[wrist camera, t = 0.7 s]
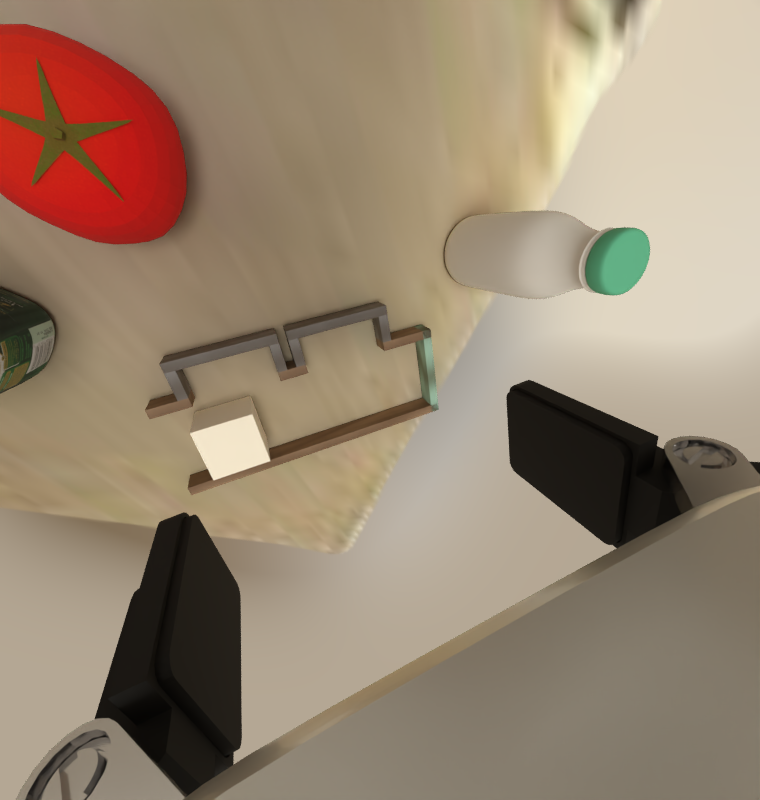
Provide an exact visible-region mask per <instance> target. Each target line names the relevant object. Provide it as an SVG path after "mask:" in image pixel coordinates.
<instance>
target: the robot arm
mask: <svg viewBox="0 0 760 800" xmlns="http://www.w3.org/2000/svg"><path fill="white" fill-rule="evenodd" d="M507 416H508V434H509V454H510V464H511V467H512V468H513V470H514V471H515V472H516V473H517V474H518V475H519V476H521V477H522V478H523V479H525V480H526V481H527V482H528V483H530V484H531V485H532V486H533V487H535V488H536V489H537V490H539V491H540V492H541V493H542V494H543V495H545V496H546V497H547V498H548V499H550V500H551V501H552V502H553V503H555V504H556V505H557V506H558V507H560V508H561V509H562V510H563V511H565V512H566V513H567V514H569V515H570V516H571V517H572V518H574V519H575V520H576V521H577V522H579V523H580V524H581V525H582V526H584V527H585V528H586V529H588V530H589V531H590V532H591V533H592V534H594V535H595V536H596V537H597V538H599V539H600V540H601V541H603V542H604V543H606V544H608V545H613V546H615V547H616V548H617V549H615V550H613V551H611V552H610V553H608V554H606V555H604V556H602V557H601V558H599V559H597V560H595V561H593V562H591V563H590V564H588V565H586V566H584V567H582V568H580V569H578V570H577V571H575V572H573V573H571V574H569V575H567V576H566V577H564V578H562V579H560V580H558V581H556V582H555V583H553V584H551V585H549V586H547V587H546V588H544V589H542V590H540V591H538V592H537V593H535V594H533V595H531V596H529V597H528V598H526V599H524V600H522V601H520V602H519V603H517V604H515V605H513V606H511V607H509V608H508V609H506V610H504V611H502V612H500V613H498V614H497V615H495V616H493V617H491V618H490V619H488V620H486V621H484V622H482V623H480V624H479V625H477V626H475V627H473V628H472V629H470V630H468V631H466V632H464V633H462V634H461V635H459V636H457V637H455V638H454V639H452V640H450V641H448V642H446V643H444V644H443V645H441V646H439V647H437V648H436V649H434V650H432V651H430V652H428V653H427V654H425V655H423V656H421V657H419V658H418V659H416V660H414V661H412V662H410V663H409V664H407V665H405V666H403V667H402V668H400V669H398V670H396V671H395V672H393V673H391V674H389V675H387V676H386V677H384V678H382V679H380V680H379V681H377V682H375V683H373V684H371V685H369V686H368V687H366V688H364V689H362V690H361V691H359V692H357V693H355V694H354V695H352V696H350V697H348V698H346V699H345V700H343V701H341V702H339V703H338V704H336V705H334V706H332V707H330V708H329V709H327V710H325V711H323V712H322V713H320V714H318V715H317V716H315V717H313V718H311V719H310V720H308V721H306V722H305V723H303V724H301V725H299V726H298V727H296V728H294V729H293V730H291V731H289V732H287V733H286V734H284V735H282V736H281V737H279V738H277V739H276V740H274V741H272V742H271V743H269V744H267V745H265V746H263V747H262V748H260V749H258V750H257V751H255V752H253V753H251V754H250V755H248V756H247V757H245V758H244V759H242V760H240V761H239V762H237V763H236V764H234V765H233V752H234V751H236V750H238V749H239V748H240V746H241V738H242V729H241V728H242V724H241V614H240V613H241V611H240V609H241V608H240V607H241V606H240V591H239V587H238V584H237V582H236V581H235V579H234V577H233V575H232V574H231V572H230V570H229V569H228V567H227V565H226V564H225V562H224V560H223V558H222V557H221V555H220V554H219V552H218V550H217V548H216V547H215V545H214V543H213V541H212V540H211V538H210V536H209V535H208V533H207V531H206V530H205V528H204V526H203V524H202V523H201V521H200V519H199V518H198V516H196V515H192V516H189V515H188V514H187V513H181V514H179V515H176V516H173V517H171V518H168V519H166V520H163V521H161V522H159V524H158V527H157V530H156V534H155V537H154V541H153V544H152V548H151V551H150V554H149V558H148V561H147V565H146V568H145V572H144V575H143V579H142V582H141V585H140V588H139V589H138V590H137V591H135V592H134V594H133V597H132V599H131V602H130V605H129V608H128V612H127V615H126V618H125V622H124V625H123V628H122V632H121V634H120V638H119V641H118V644H117V648H116V651H115V654H114V657H113V661H112V664H111V667H110V671H109V674H108V677H107V680H106V684H105V687H104V690H103V693H102V697H101V700H100V703H99V707H98V710H97V713H96V716H95V720H92V721H90V722H87V723H85V724H83V725H81V726H80V727H78V728H77V729H75V730H74V731H72V732H71V733H69V734H68V735H66V736H65V737H64V738H63V739H62V740H61V741H60V742H59V743H57V745H55V746H54V747H53V748H52V749H51V750H50V751H49V752H48V753H47V755H46V756H45V757H44V758H43V759H42V760H41V761H40V763H39V764H38V765H37V766H36V767H35V769H34V770H33V771H32V773H31V775H30V776H29V778H28V779H27V781H26V782H25V784H24V785H23V787H22V789H21V790H20V792H19V794H18V796H17V799H16V800H760V462H749V461H748V460H747V458H746V457H745V456H744V455H743V454H742V453H741V452H740V451H739V450H738V449H736V448H734V447H732V446H731V445H729V444H727V443H724V442H721V441H718V440H715V439H711V438H705V437H698V436H685V437H678V438H673V439H671V440H669V441H668V442H666V444H665V446H664V449H662V448H660V447H658V446H657V440H658V436H656V435H654V434H652V433H650V432H647V431H645V430H643V429H640V428H638V427H636V426H634V425H631V424H629V423H627V422H625V421H622V420H620V419H618V418H615V417H613V416H611V415H609V414H606V413H604V412H602V411H600V410H597V409H595V408H593V407H591V406H588V405H586V404H584V403H581V402H579V401H577V400H574V399H572V398H570V397H568V396H565V395H563V394H561V393H558V392H556V391H554V390H552V389H550V388H547V387H545V386H543V385H540V384H538V383H536V382H534V381H531V380H528V381H524V382H522V383H520V384H517V385H514V386H512V387H511V388H510V392H509V393H508V394H507Z"/></svg>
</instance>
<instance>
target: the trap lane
mask: <svg viewBox="0 0 760 800" xmlns="http://www.w3.org/2000/svg"><path fill="white" fill-rule="evenodd" d="M368 319H373V325H374V330H375V336H376V341H377V345H378V346H379V347H380V348H381V349H383V350H384V351H386V350H389V349H393V348H396V347H400V346H403V345H406V344H410V343H413V342H416V350H417V358H418V366H419V374H420V382H421V390H422V398H420V399H417V400H414V401H411V402H408V403H405V404H402V405H399V406H396V407H393V408H390V409H387V410H384V411H381V412H378V413H375V414H372V415H369V416H366V417H363V418H360V419H357V420H354V421H351V422H348V423H345V424H342V425H339V426H336V427H333V428H330V429H327V430H324V431H321V432H318V433H315V434H313V435H310V436H307V437H304V438H301V439H298V440H295V441H292V442H289V443H286V444H283V445H280V446H277V447H274V448H271V449H269V454H270V461H269V462H266V463H263V464H260V465H257V466H254V467H252V468H249V469H246V470H243V471H240V472H237V473H234V474H231V475H228V476H225V477H222V478H219V479H216V480H213V478H212V476H211V474H210V472H209V470H205V471H202V472H199V473H196V474H193V475H190V479H189V485H188V490H189V491H190V493H191V495H193V494H196V493H199V492H202V491H205V490H208V489H211V488H213V487H216V486H219V485H222V484H225V483H228V482H231V481H234V480H237V479H239V478H242V477H245V476H248V475H251V474H254V473H257V472H260V471H263V470H265V469H268V468H271V467H274V466H277V465H280V464H283V463H286V462H289V461H291V460H294V459H297V458H300V457H303V456H306V455H309V454H312V453H315V452H317V451H320V450H323V449H326V448H329V447H332V446H335V445H338V444H341V443H343V442H346V441H349V440H352V439H355V438H358V437H361V436H364V435H367V434H369V433H372V432H375V431H378V430H381V429H384V428H387V427H390V426H393V425H395V424H398V423H401V422H404V421H407V420H410V419H413V418H416V417H419V416H421V415H424V414H427V413H430V412H433V411H436V410H438V399H437V389H436V379H435V369H434V360H433V350H432V340H431V330H430V329H429V328H427V327H425V326H423V325H418V326H414V327H411V328H407V329H403V330H400V331H396V332H393V333H390V329H389V323H388V317H387V310H386V305H384V304H382V303H379V302H375V303H371V304H367V305H363V306H359V307H356V308H352V309H348V310H344V311H340V312H336V313H332V314H328V315H324V316H320V317H316V318H312V319H308V320H305V321H301V322H297V323H293V324H289V325H285V326H283V327H284V331H285V334H286V337H287V341H288V344H289V347H290V351H291V354H292V357H293V361H289V362H285V361H284V358H283V354H282V351H281V348H280V345H279V342H278V338H277V335H276V332H275V330H274V328H273V329H269V330H265V331H261V332H258V333H254V334H250V335H246V336H242V337H238V338H234V339H230V340H226V341H222V342H218V343H214V344H210V345H207V346H203V347H199V348H195V349H191V350H187V351H183V352H179V353H175V354H171V355H167V356H164V357H163V359H162V361H161V362H160V366H161V368H162V370H163V372H164V375H165V377H166V379H167V381H168V383H169V385H170V387H171V389H172V391H173V393H174V394H171V395H167V396H164V397H160V398H157V399H153V400H150V402H149V404H148V406H147V407H146V409H145V412H146V413H147V415H148V417H149V419H152V418H156V417H159V416H163V415H166V414H169V413H173V412H176V411H180V410H183V409H187V408H190V407H192V406H193V403H194V399H195V396H194V394H193V392H192V390H191V388H190V386H189V384H188V381H187V379H186V377H185V375H184V373H183V371H182V369H184V368H188V367H191V366H195V365H199V364H203V363H207V362H210V361H214V360H218V359H222V358H225V357H229V356H233V355H237V354H240V353H244V352H248V351H252V350H255V349H259V348H263V347H267V346H269V347H270V350H271V353H272V356H273V359H274V362H275V365H276V368H277V371H278V374H279V377H280V380H281V381H283V380H286V379H290V378H293V377H297V376H300V375H303V374H307V373H308V371H307V367H306V364H305V360H304V357H303V353H302V350H301V346H300V343H299V339H298V338H301V337H304V336H308V335H312V334H316V333H319V332H323V331H327V330H331V329H334V328H338V327H342V326H346V325H350V324H353V323H357V322H361V321H365V320H368Z"/></svg>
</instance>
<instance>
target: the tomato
mask: <svg viewBox="0 0 760 800" xmlns="http://www.w3.org/2000/svg"><path fill="white" fill-rule="evenodd" d="M186 181H187V172H186V165H185V158H184V152H183V148H182V145H181V141H180V137H179V133H178V130H177V127H176V125H175V123H174V121H173V119H172V117H171V115H170V113H169V111H168V109H167V107H166V106H165V105H164V104H163V102H162V101H161V100H160V99H159V97H158V96H157V95H156V94H155V92H154V91H153V90H152V89H151V88H150V87H148V86H147V85H146V84H145V83H144V82H142V81H141V80H140V79H139V78H138V77H137V76H135V75H134V74H133V73H131V72H130V71H128V70H127V69H125V68H123V67H122V66H120V65H119V64H117V63H116V62H114V61H113V60H111V59H109V58H108V57H106V56H105V55H103V54H101V53H99V52H97V51H95V50H93V49H91V48H89V47H87V46H85V45H84V44H82V43H80V42H77V41H75V40H72V39H70V38H68V37H65V36H63V35H60V34H58V33H55V32H53V31H49V30H45V29H42V28H38V27H34V26H31V25H27V24H1V25H0V193H1V194H2V195H3V196H5V197H6V198H7V199H8V200H10V201H11V202H13V203H14V204H16V205H17V206H19V207H20V208H22V209H23V210H25V211H26V212H28V213H30V214H32V215H34V216H36V217H38V218H40V219H41V220H43V221H45V222H47V223H49V224H52V225H54V226H56V227H59V228H61V229H63V230H65V231H68V232H70V233H72V234H74V235H77V236H80V237H83V238H86V239H89V240H92V241H95V242H101V243H109V244H134V243H141V242H148V241H151V240H154V239H156V238H159V237H162V236H164V235H165V234H166V233H167V232H168V231H169V230H170V229H171V228H172V227H173V226H174V224H175V222H176V220H177V218H178V216H179V214H180V213H181V211H182V207H183V203H184V200H185V196H186Z"/></svg>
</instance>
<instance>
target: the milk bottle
mask: <svg viewBox="0 0 760 800" xmlns="http://www.w3.org/2000/svg"><path fill="white" fill-rule="evenodd" d="M649 255H650V246H649V240H648V237H647V235H646V234H645V233H644V232H643V231H642V230H639V229H637V228H607V229H604V230H601V231H597V230H595V229H592V228H590V227H588V226H587V225H585V224H584V223H583V222H581V221H580V220H578V219H576V218H575V217H573V216H571V215H568V214H566V213H562V212H557V211H522V212H508V213H495V214H483V215H475V216H470V217H467V218H465V219H464V220H462V221H461V222H460V223H459V224H457V225H456V227H455V228H454V229H453V230H452V232H451V234H450V236H449V237H448V240H447V243H446V247H445V264H446V267H447V270H448V272H449V274H450V275H451V277H452V278H453V279H454V280H455V281H456V282H458V283H460V284H462V285H465V286H468V287H473V288H477V289H482V290H486V291H491V292H495V293H500V294H505V295H510V296H515V297H521V298H528V299H545V298H550V297H555V296H558V295H561V294H564V293H566V292H569V291H571V290H575V289H581V288H584V289H586V290H587V291H589V292H593V293H600V294H604V295H620V294H623V293H625V292H627V291H629V290H630V289H631V288H632V287H633V286H634V285H635V284H636V283H637V282H638V281H639V279H640V278H641V276H642V275H643V273H644V271H645V269H646V266H647V263H648V260H649Z"/></svg>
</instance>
